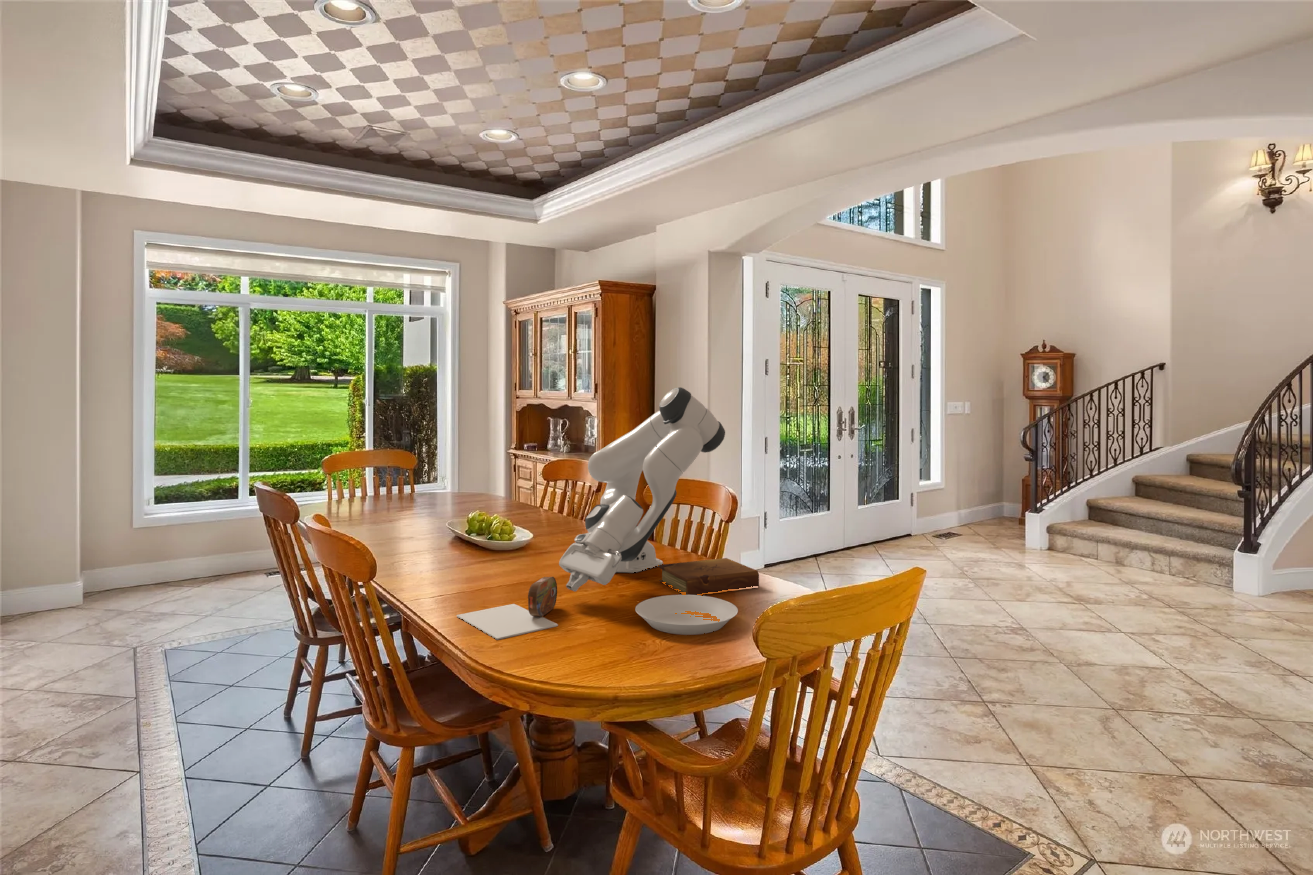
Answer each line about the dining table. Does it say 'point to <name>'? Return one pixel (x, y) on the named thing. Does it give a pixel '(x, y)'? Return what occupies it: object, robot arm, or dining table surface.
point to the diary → (708, 576)
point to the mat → (506, 621)
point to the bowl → (665, 620)
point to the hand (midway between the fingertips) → (570, 589)
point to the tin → (542, 596)
